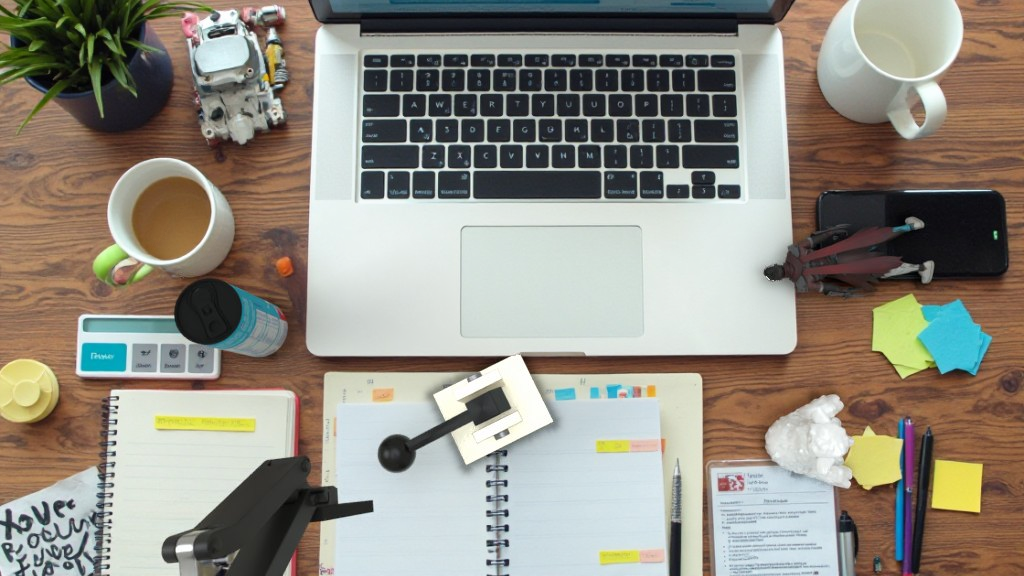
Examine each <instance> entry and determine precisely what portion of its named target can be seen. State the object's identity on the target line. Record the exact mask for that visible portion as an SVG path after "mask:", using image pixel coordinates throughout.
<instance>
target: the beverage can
mask: <svg viewBox="0 0 1024 576" xmlns="http://www.w3.org/2000/svg"><path fill="white" fill-rule="evenodd" d="M173 319H174V323H175V326H176V328H177V330H178V332H179V333H180V334H181V335H182V337H184V338H185V339H186V340H187V341H190V342H192V343H194V344H197V345H200V346H201V345H202V346H205V347H209V348H213V349H218V350H222V351H226V352H231V353H235V354H238V355H239V354H240V355H242V356H243V355H244V356H248V357H253V358H264V357H268V356H270V355H272V354H274V353H275V352H277V351H278V350H279V349H281V347H282V346H283V345H284V343H285V341H286V339H287V336H288V333H289V332H288V330H289V325H288V320H287V317H286V315H285V313H284V312H283V310H282V309H281V308H280V307H278V305H276V304H274V303H272V302H270V301H267V300H265V299H263V298H261V297H258V296H257V295H255V294H252V293H250V292H248V291H246V290H244V289H241V288H240V287H237V286H235V285H232V284H230V283H228V282H226V281H224V280H221V279H219V278H213V277H206V278H200V279H198V280H195V281H193V282H192V283H189V284H188V285H187V286H186V287H185V288H184V289H182V290H181V292H180V293H179V295H178V297H177V299H176V301H175V305H174V309H173Z"/></svg>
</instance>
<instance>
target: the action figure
mask: <svg viewBox="0 0 1024 576" xmlns="http://www.w3.org/2000/svg"><path fill="white" fill-rule="evenodd" d="M904 223H905V224H904V225H901V226H895V227H891V226H885V227H881V228H879V227H880V226H879V225H878V226H875V225H874V226H866V227H862V228H861V229H859V230H858V231H856V232H855V233H852V235H851V236H849V233H848V230H845V228H847V227H848V226H850V224H849V223H841V224H836V225H835V226H831V225H825V226H824V227H825V228H826V229H825V230H817V231H813V232H810V233H809V236H807V237H806V238H804V239H801V240H800V241H798V242H795V243H794V244H790V245H788V246H787V253H786V257H785V260H784V262H783V263H782V264H778V263H774V264H773V263H771V265H769V266H766V267H765V268H764V269H763V273H762V274H763V276H765V277H766V276H767V277H768V278H769V279H770V280H774V281H773V282H777V281H778V280H779V281H778V282H780V281H782V280H784V279H783V278H785V279H788V280H789V281H791V282H792V283H794V284H795V286H796V289H797V292H798V293H805V292H807V293H809V292H814V293H819V294H820V293H823V295H824V296H825V297H836V296H840V297H841V298H843V301H846V300H847V299H850V298H852V299H853V298H854V299H855V298H862V297H865V296H867V295H868V293H863V294H861V293H860V294H856V293H859V292H862V290H866V291H869V292H870V291H871V292H872V291H878V289H877V288H875V286H873V285H872V284H870V283H869V282H872V283H876V284H880V283H881V282H880V281H879V279H887V278H890V277H892V276H899V275H905V274H909V273H915V272H917V273H918V274H919V276H920V277H921V283H922V284H929V283H930V282H931V281H932V279H933V274H934V269H935V262H934V260H927V261H924V262H923V263H917V264H916V263H915V264H913V263H907V262H905V261H904V262H903V260H901V259H902V258H903V256H892V255H885V253H884V252H881V251H880V250H879V251H873V250H875V249H877V248H878V247H880V246H882V245H883V244H885V243H887V242H889V241H891V240H894V239H896V238H898V237H900V236H901V235H903V234H904V233H907V232H910V231H913V230H918V229H923V228H924V227H925V223H924V222H923V220H921V219H919V218H917V217H915V216H909V217H906V218H905V220H904ZM844 235H845V236H844ZM832 236H837V237H847V238H845V239H842V240H840V241H837V242H834V243H833V244H831V245H829V246H826V247H823V248H820V249H817V250H814V249H813V248H814V247H815V246H818V245H819V244H821V243H823V242H824V241H825V242H826V240H827V239H829V238H831V237H832ZM848 236H849V237H848ZM773 265H774V266H773ZM825 278H830V279H836V280H840V281H842V282H845V283H847V284H849V285H851V286H853V287H848V288H845V287H842V286H839V285H838V284H833V283H830V282H823V281H822V280H824V279H825ZM878 278H879V279H878ZM776 280H777V281H776Z"/></svg>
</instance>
